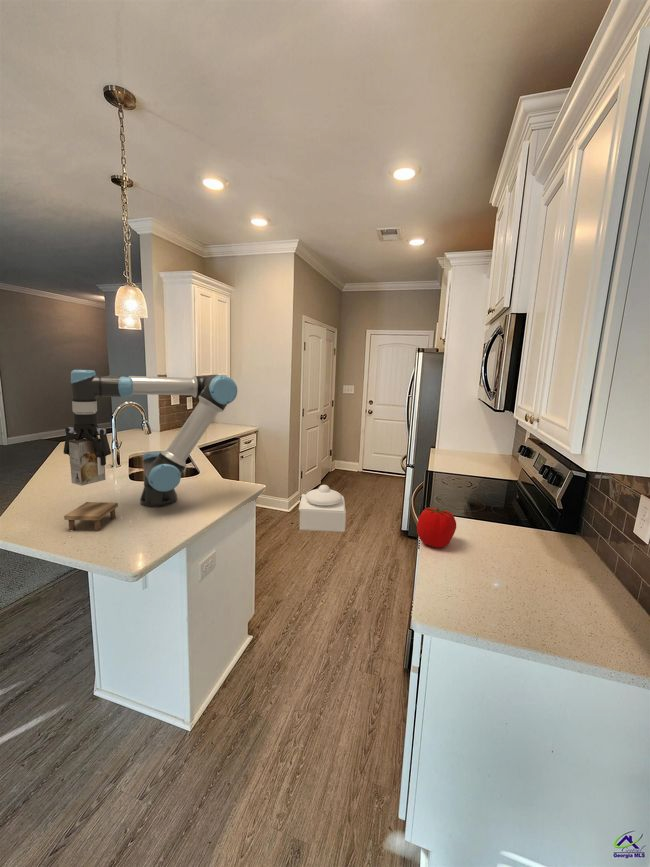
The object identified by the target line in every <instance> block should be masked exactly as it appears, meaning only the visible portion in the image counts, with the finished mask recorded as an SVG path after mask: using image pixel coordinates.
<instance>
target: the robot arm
mask: <svg viewBox="0 0 650 867" xmlns="http://www.w3.org/2000/svg"><path fill="white" fill-rule="evenodd" d="M70 389H71V391H70V392H71V403H72V404H71V405H72V407H71V409H72V412H73V415H72V421H73V424H74V425H73V427H72V426H69V427H66V428H65V429H64V431H65V440H64V444H63V446H64V447H63V454H64V455H68V456H69V457H70V453H69V440H80V439H84V438H87V439H89V440H90V441H93V445H94V447H95V449H96V451H97V453H98V455H99V457H98V458H97V462H98V475H101V474H103V473H104V465H105V466H106V465H107V458H106V457H108V456H110V455H111V454H112V451H111V446H110V442H109V440H108V437H107V436H108V435H107V431H108V429H107V428H99V426H98V423H99V420H98V417H99V416H98V413H97V412H98V401H97V398H99V397H106V398H107V397H110V398H111V397H112V398H113V397H114V398H119V397H120V398H126V397H127V398H129V397H133V395H145V396H146V395H147V396H148V395H149V396H150V395H153V396H155V395H156V396H157V395H158V396H164V395H165V396H192V397H193V398H195V399H196V398H198V400H199V402H198V403H197V405H196V406H195V408H194V409H193V410H192V412H191V414H190V415H189V417H188V418H187V419H186V421H185V422H184V424H183V425H182V427H181V428H180V430H179V431H178V432H177V434H176V435H175V437H174V439H173V440H172V441H171V443H170V445H169V446H168V447H167V449H165V450H162V451H151V452H150V451H149V452H146V453H145V452H144V453H143V455H142V464H143V465H142V466H143V468H142V470H143V490H142V493H141V496H140V500H139V503H140V506H142V507H145V508H164V507H168V506H172V505H173V504H175V503H177V502H178V494H177V492H176V490H175V489H176V487H178V485H179V484H180V482H181V479H182V473H183V472H184V470H185V469H186V467H187V463H186V462H187V461H186V460H187V459H188V458H189V457H190V454H191V453H192V451H193V450H194V449H195V447H196V446H197V444H198V442H200V440H201V438H202V437H203V435H204V433H205V432H207V429H208V428H209V426H210V425H211V423H212V421H213V420H214V419H215V417H216V416H217V414H218V413H221V412H224V411H225V409H226V407H227V406H228V405H229V404H231V403H233V402H234V401H235V400H236V398H237V397H238V396H237V395H238V386H237V384H236V382H235V381H234V379H233V378H231V377H229V376H227V375H224V374H209V375H208V374H207V375H194V376H192V377H174V376H173V377H171V376H170V377H169V376H146V375H145V376H143V375H142V376H140V375H118V374H110V375H107V376H103V375H97V374H96V371H95V370H90V369H73V370H72V371H70ZM74 433H76V434H74ZM74 435H75V437H74ZM98 435H99V436H98ZM93 437H94V438H93ZM98 438H100V440H101V443H100V442H99V441H97V440H98ZM101 444H102V445H101Z"/></svg>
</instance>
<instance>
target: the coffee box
mask: <svg viewBox="0 0 650 867" xmlns="http://www.w3.org/2000/svg"><path fill="white" fill-rule="evenodd" d="M93 438H94V437H93ZM97 441H99V442H100V443H101V440H100V437H98V440H97ZM101 445H102V444H101ZM69 453H70V456H69V464H70V465H69V467H70V476H71V478H70V480H71V483H72V484H75V485H78V486H82V487H83V486H85V485H86V486H87V485H90V484H95V483H98V482H102V481H106V469H105V468H106V467H105V466H106V465H104V473H103V474H101V475H98V462H97V458H98V457H99V455H98V453H97V451H96V449H95V447H94V445H93V441H90V440H89V439H87V438H83V439H80V440H75V439H73V440H69Z"/></svg>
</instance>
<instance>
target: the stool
mask: <svg viewBox="0 0 650 867" xmlns="http://www.w3.org/2000/svg"><path fill="white" fill-rule="evenodd" d="M118 507H119V503H118V502H107V501H106V502H103V501H102V502H100V501H97V502H96V501H86V502H84V503H82V504H81V505H79V506H78V507H76V508H75V509H73V510H71V511H70V512H68V513H66V514H64V516H63V517H64V518H63V519H64V520H65V521H68V530H73V531H76V523H75V521H93V522H94V531H95V532H99V531H101V520H102V519H103V518H105V517H106V516H107V515H109V519H110V520H115V519H116V508H118Z"/></svg>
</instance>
